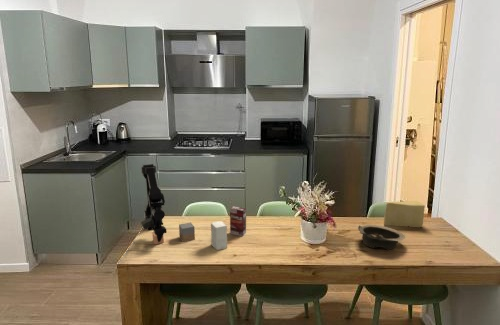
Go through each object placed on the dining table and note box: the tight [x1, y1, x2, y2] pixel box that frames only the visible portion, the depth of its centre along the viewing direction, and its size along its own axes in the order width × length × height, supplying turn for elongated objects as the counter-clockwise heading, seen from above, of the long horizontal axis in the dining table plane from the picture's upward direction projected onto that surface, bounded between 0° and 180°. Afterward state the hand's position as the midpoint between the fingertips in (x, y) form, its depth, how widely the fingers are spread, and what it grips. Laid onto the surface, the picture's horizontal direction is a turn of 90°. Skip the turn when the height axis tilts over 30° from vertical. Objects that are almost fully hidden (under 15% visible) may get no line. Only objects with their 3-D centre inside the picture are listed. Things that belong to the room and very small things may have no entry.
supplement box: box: [229, 206, 247, 237], centre depth 223 cm, size 9×5×16 cm, turn 68°
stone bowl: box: [357, 224, 406, 251], centre depth 210 cm, size 25×25×9 cm
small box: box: [210, 220, 228, 251], centre depth 207 cm, size 8×6×13 cm
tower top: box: [178, 222, 196, 235], centre depth 218 cm, size 7×7×4 cm
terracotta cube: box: [151, 232, 165, 245], centre depth 214 cm, size 5×5×5 cm
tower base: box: [178, 231, 196, 243], centre depth 219 cm, size 7×7×4 cm
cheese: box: [383, 200, 426, 228], centre depth 235 cm, size 22×10×15 cm, turn 88°
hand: (158, 239), depth 214 cm, fingers closed on terracotta cube, 5 cm apart
